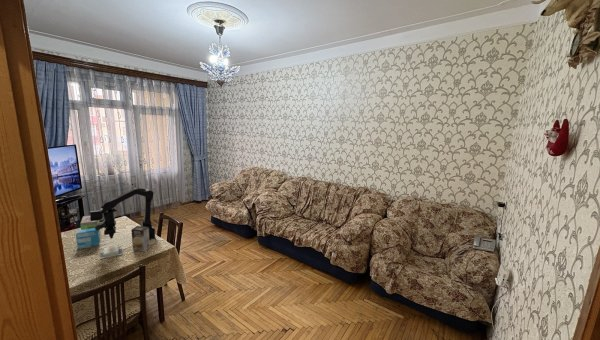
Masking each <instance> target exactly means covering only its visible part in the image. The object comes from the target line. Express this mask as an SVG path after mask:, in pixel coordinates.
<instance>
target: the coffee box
mask: <svg viewBox="0 0 600 340" xmlns="http://www.w3.org/2000/svg"><path fill="white" fill-rule="evenodd" d="M131 243H132V251H140V252H145V251H147V250H148V249H150V247H151V246H150V245H151V244H150V243H151V242H150V240H149V227H143V226H141V225H136V226H134V227H133V228H132V229H131Z"/></svg>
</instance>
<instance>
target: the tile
mask: <svg viewBox="0 0 600 340" xmlns="http://www.w3.org/2000/svg"><path fill="white" fill-rule="evenodd" d="M119 248H120V247H119V245H114V246H113V245H112V246H108V247H104V249H103V252H104V254H103V255H104V257H107V256H112V255H117V254H118V253H119Z"/></svg>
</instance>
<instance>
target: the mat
mask: <svg viewBox="0 0 600 340" xmlns="http://www.w3.org/2000/svg"><path fill="white" fill-rule="evenodd" d="M103 254H104V251H100V256H99V260H101V261H102V260H105V259H109V258H116V257H120V256H123V247H119V253H118V254H117V255H112V256H107V257H104V255H103Z"/></svg>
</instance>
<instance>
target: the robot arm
mask: <svg viewBox="0 0 600 340" xmlns="http://www.w3.org/2000/svg"><path fill="white" fill-rule="evenodd" d="M154 194H155V193H154V191H153V190H152V189H151V188H142V187H141V188H139V187H133V188H132V189H130V190H128V191H126V192H123V193H122V194H120V195H118V196H116V197H111V198H108V199H106V200H104V201H103V202H102V205H101V206H100V208H99V209H98V210H91V211H89V216H90V220H91V221H96V220H99V223H98V224H96V225H95V226H94V227H95V230H97V231H98V230H100V231H101V230H102V229H104V231H103V234H104V235H105V236H109V238H110V239H113V238H114V236H115V234H116V233H117V231H116V230H117V229H116V228H117V227H116V225H117V220H115V212H118V209H117V208H115V207H117V205H119V204H120V203H122V202H124V201H126V200H127V199H129V198H131V197H134V196H135V195H138V196H141V197H143V198H144V199H143V200H144V210H143V211H144V213H143V219H142V220H140V221H141V222H140V226H143V227H149V241H150V240H151V241H152V240H155V239H156V228H155V227H154V226H153V224H152V221H151V211H152V200H153V198H154ZM102 219H103V221H101V220H102ZM100 221H101V222H100Z"/></svg>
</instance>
